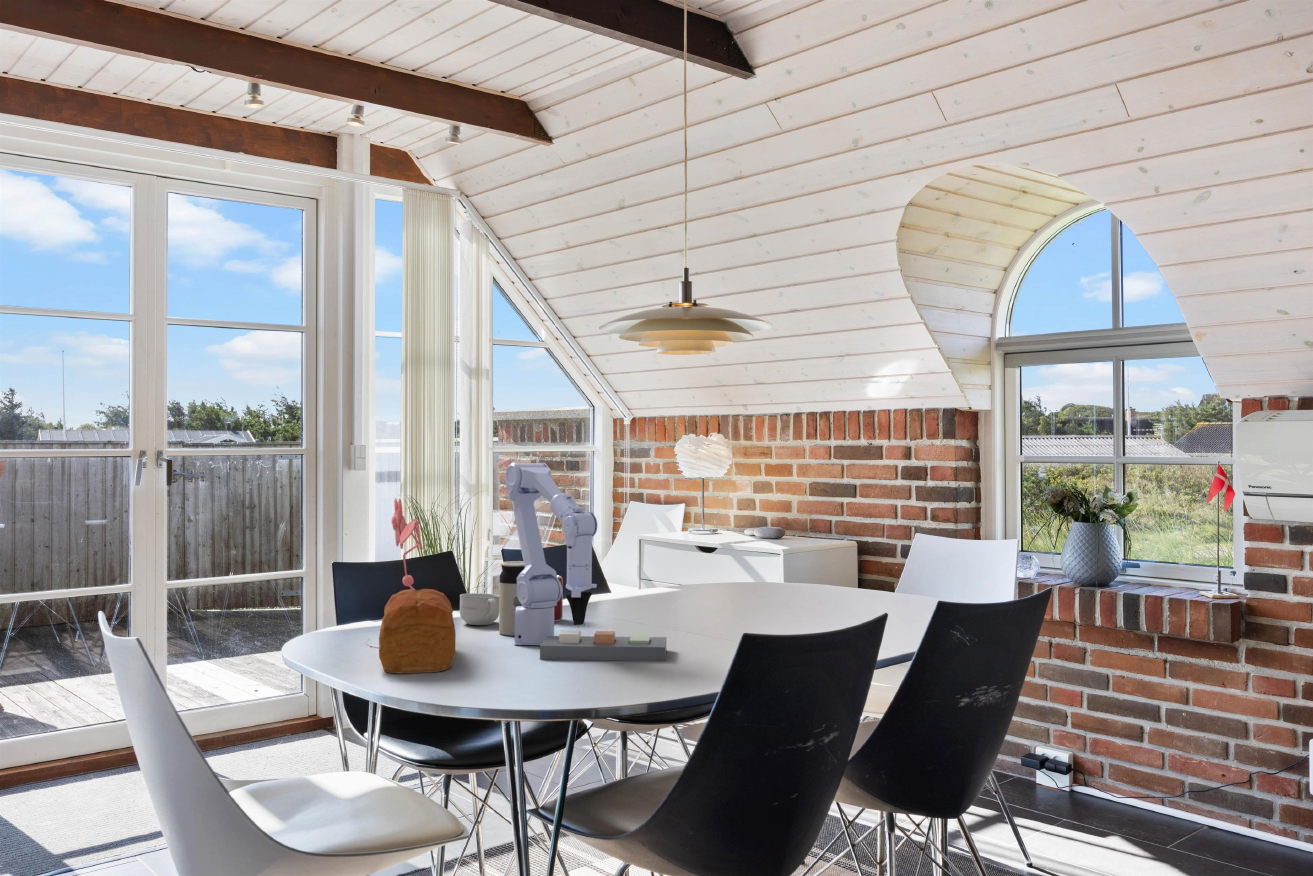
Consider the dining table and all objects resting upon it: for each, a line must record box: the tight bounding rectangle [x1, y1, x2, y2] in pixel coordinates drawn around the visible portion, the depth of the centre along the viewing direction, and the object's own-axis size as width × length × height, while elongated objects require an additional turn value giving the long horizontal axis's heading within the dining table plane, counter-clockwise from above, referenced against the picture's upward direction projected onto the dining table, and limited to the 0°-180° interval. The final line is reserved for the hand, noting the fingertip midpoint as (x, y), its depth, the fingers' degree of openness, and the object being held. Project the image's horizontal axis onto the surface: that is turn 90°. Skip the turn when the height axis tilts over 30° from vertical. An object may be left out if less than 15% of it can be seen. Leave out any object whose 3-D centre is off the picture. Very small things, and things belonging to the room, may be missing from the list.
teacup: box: [459, 592, 499, 626], centre depth 268 cm, size 14×11×8 cm
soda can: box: [554, 575, 564, 623], centre depth 276 cm, size 7×7×12 cm
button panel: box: [539, 635, 667, 662], centre depth 230 cm, size 28×12×3 cm, turn 88°
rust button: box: [593, 630, 616, 644], centre depth 230 cm, size 4×4×3 cm
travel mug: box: [498, 560, 525, 637], centre depth 256 cm, size 8×8×18 cm
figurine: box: [363, 497, 423, 649], centre depth 245 cm, size 15×26×35 cm, turn 19°
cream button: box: [558, 630, 582, 643], centre depth 230 cm, size 4×4×3 cm
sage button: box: [629, 636, 651, 644], centre depth 230 cm, size 4×4×3 cm
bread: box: [378, 588, 457, 674], centre depth 223 cm, size 16×27×16 cm, turn 13°
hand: (578, 624), depth 231 cm, fingers closed
